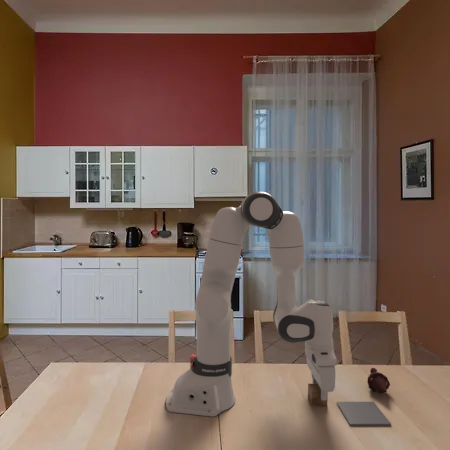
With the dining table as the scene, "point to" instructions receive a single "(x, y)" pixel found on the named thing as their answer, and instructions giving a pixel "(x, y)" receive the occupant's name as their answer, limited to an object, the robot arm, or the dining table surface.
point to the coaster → (363, 414)
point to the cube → (315, 395)
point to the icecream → (378, 381)
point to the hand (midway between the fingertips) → (319, 391)
